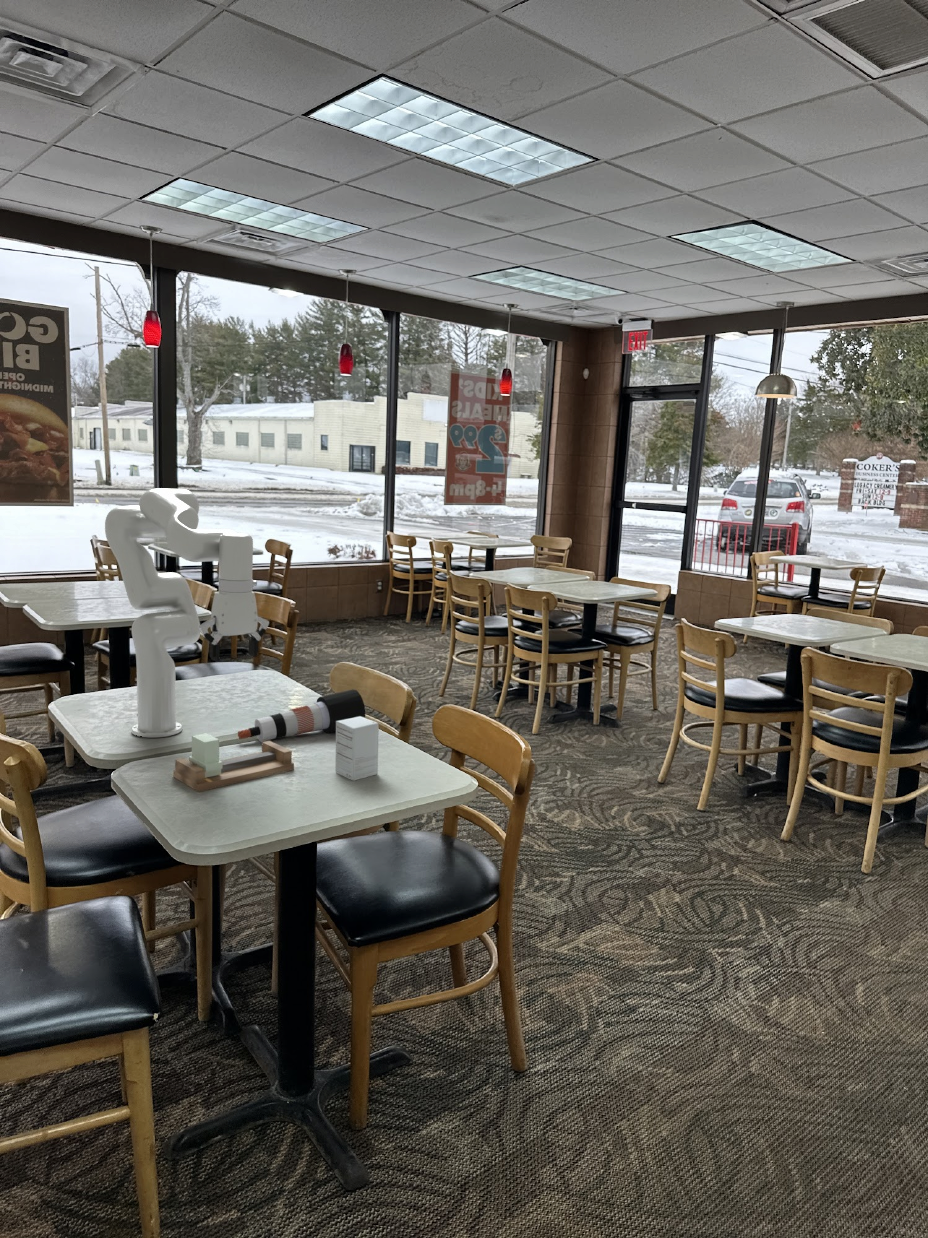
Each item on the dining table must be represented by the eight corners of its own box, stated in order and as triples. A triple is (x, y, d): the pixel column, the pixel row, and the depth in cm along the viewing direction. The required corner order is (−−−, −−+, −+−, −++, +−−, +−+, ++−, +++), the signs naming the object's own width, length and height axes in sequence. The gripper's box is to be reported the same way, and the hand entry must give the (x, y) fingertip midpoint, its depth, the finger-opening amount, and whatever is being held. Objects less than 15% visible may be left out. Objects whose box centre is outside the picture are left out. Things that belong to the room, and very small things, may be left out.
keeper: (188, 769, 194) (188, 735, 193) (205, 765, 197) (205, 731, 196) (205, 778, 189) (205, 743, 187) (222, 775, 191) (222, 740, 190)
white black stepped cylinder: (239, 757, 222) (229, 720, 224) (355, 728, 240) (345, 694, 242) (249, 750, 214) (239, 712, 216) (368, 720, 232) (358, 685, 234)
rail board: (173, 776, 194) (173, 758, 193) (266, 756, 211) (267, 739, 210) (198, 791, 186) (198, 772, 185) (293, 769, 202) (294, 752, 201)
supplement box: (359, 766, 206) (361, 715, 204) (378, 775, 201) (379, 722, 199) (334, 772, 201) (335, 720, 199) (352, 781, 196) (353, 727, 194)
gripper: (261, 582, 208) (259, 651, 211) (192, 585, 196) (192, 658, 199) (276, 587, 202) (274, 657, 205) (207, 590, 191) (206, 665, 194)
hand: (234, 658), depth 202 cm, fingers open, 9 cm apart
